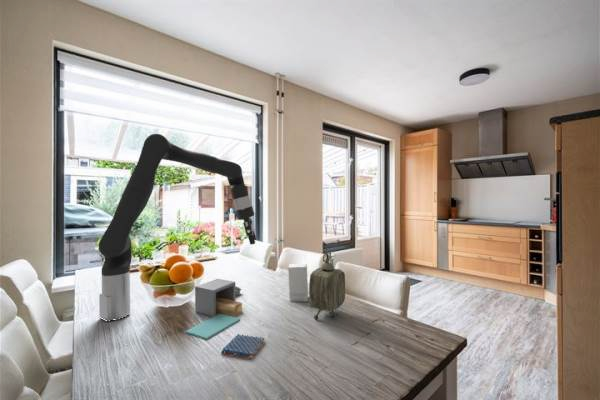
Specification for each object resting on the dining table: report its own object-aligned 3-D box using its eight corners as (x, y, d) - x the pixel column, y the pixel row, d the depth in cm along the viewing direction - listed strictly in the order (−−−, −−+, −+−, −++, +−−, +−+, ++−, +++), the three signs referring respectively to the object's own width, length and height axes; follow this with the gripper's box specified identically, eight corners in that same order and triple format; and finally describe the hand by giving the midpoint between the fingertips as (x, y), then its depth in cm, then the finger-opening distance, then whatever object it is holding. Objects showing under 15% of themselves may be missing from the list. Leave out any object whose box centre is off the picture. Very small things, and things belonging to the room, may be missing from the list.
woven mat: (266, 342, 86) (266, 336, 86) (252, 362, 76) (251, 354, 76) (237, 338, 89) (237, 332, 89) (219, 356, 78) (219, 349, 78)
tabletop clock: (326, 307, 113) (325, 247, 113) (346, 311, 108) (345, 249, 108) (309, 320, 100) (308, 253, 100) (331, 326, 96) (330, 255, 96)
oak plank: (233, 317, 105) (233, 306, 105) (208, 310, 112) (207, 300, 112) (242, 312, 109) (241, 302, 109) (217, 306, 116) (217, 297, 116)
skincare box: (308, 297, 125) (307, 263, 125) (307, 302, 118) (306, 266, 119) (290, 296, 126) (290, 263, 126) (288, 301, 119) (288, 266, 119)
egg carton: (225, 301, 122) (225, 292, 122) (214, 298, 126) (214, 289, 126) (243, 294, 130) (242, 285, 130) (232, 291, 135) (232, 283, 135)
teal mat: (206, 339, 87) (206, 337, 87) (186, 332, 92) (186, 330, 92) (240, 320, 101) (240, 318, 101) (220, 315, 106) (220, 313, 106)
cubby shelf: (213, 316, 105) (213, 290, 105) (195, 311, 110) (195, 286, 110) (235, 305, 116) (235, 281, 116) (218, 301, 121) (217, 278, 121)
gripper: (237, 208, 127) (246, 241, 128) (233, 210, 112) (243, 247, 113) (253, 204, 127) (262, 237, 128) (250, 206, 113) (261, 242, 114)
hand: (253, 242), depth 121 cm, fingers open, 8 cm apart
